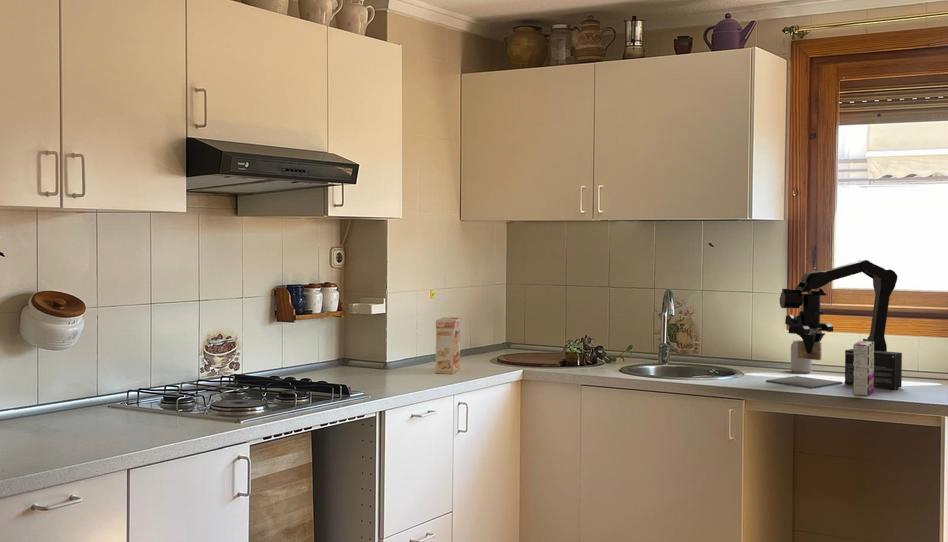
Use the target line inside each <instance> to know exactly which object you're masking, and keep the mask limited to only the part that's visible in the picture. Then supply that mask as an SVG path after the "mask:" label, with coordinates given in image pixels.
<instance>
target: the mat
mask: <svg viewBox="0 0 948 542" xmlns="http://www.w3.org/2000/svg"><path fill="white" fill-rule="evenodd" d="M765 382H766V383H771V382H772V384H778V385H786V386H791V385H792V386H793V387H798V386H799V387H800V388H805V387H806V388H807V389H812V388H813V389H817V388H818V387H819V388H823V387H824V388H825V387H831V386H837V385H842V384H843V382H842V381H839V380H838V381H837V380H829V379H822V378H813V377H807V376H800V375H793V376H787V377H786V376H785V377H780V378H773V379H772V378H771V379H766V380H765ZM799 387H798V388H799Z"/></svg>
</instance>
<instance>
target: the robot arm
mask: <svg viewBox="0 0 948 542" xmlns="http://www.w3.org/2000/svg"><path fill="white" fill-rule="evenodd" d="M859 273H860V274H861V273H863V274H864V275H866V276H867V277H869V278H871V279H872V286H873V289H874V290H873V291H874V294H875V295H874V301H873V302H874V303H873V309H872V317H871V323H870V324H871V325H870V331H869V335H868V337H867V338H863V339H862V341H868V342H874V351H886V352H888V349H887V348H888V346H887V342H886V338H885V334H886V325H887V320H888V314H889V313H888V311H889V303H890V297H891V295H892V293H893V291H894V290H895V287H896V284H897V281H898V274H897V273H896V272H895V271H894V270H893V269H886V268H884V267H882V266H879V265H877V264H874V263H873V262H871V261H870V260H868V259H859V260H857V261H854V262H851V263H848V264H844V265H840V266H837V267H833V268H830V269H826V270H814V271H806V272H805V273H803V274H802V276H801V277H800V278H801V279H800V281H799V283H798V284H797V285H796V287H795V288H794V289H793V288H791V289H790V288H782V290H781V293H780V297H779V306H780V309H799V308H800V307H802V310H800V311H799V312H798V313H799V314H798V315H796V316H795V315H794V316H793V314H788V315H786V316H785V321H784V324H785V325H787V326H788V330H787V331H788V332H787V333H788V334H793V335H797V336H799V337H800V338H801V340H803V342H804V345H805V348H806V351H807V353H808V354H810V353H811V351H812V348H813V344H814V342H821V341H822V339H823V337H824V336H825V335H826V332H827V333H832V332H834V325H833V324H832V323H828V322H821V316H822V315H823V312H824V311H821V296H827V293H826V292H825V291H824V290H823V288H822V287H824V286H826V285H828V284H829V283H831V282H834V281H836V280H839V279H843V278H846V277H849V276H853V275H857V274H859ZM823 332H825V333H823Z"/></svg>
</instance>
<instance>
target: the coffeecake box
mask: <svg viewBox="0 0 948 542" xmlns="http://www.w3.org/2000/svg"><path fill="white" fill-rule="evenodd" d="M461 319H462V318H461V317H454V316H452V317H451V316H450V317H449V316H448V317H442V318H439V319H436V320H435V374H440V375H441V374H444V375H447V374H448V375H454V374H455V373H457V372H458V371H459V370H460V369H461V324H462V323H461V322H462V321H461Z"/></svg>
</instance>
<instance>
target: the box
mask: <svg viewBox="0 0 948 542" xmlns="http://www.w3.org/2000/svg"><path fill="white" fill-rule="evenodd" d="M853 354H854V348H850V349H846V350H844V358H845V359H844V368H845V369H844V385H848V386H853ZM902 360H903V353H902V352H896V351H887V352H886V351H874V388H877V389H879V388H880V389H887V390H897V389H899V388H902V387H903V386H902V381H903V380H902V377H903V375H902V374H903V373H902V371H903V369H902V367H903V365H902V364H903V361H902Z"/></svg>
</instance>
